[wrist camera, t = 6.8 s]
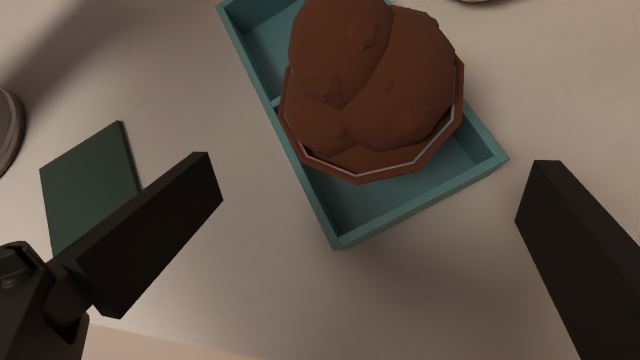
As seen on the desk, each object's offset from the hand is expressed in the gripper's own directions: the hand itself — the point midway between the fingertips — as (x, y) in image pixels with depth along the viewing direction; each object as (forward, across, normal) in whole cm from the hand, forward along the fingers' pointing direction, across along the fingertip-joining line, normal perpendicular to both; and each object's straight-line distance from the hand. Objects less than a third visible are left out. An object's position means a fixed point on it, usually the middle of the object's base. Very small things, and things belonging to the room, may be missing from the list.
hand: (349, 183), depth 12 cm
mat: (+10, -32, -9) cm, 35 cm away
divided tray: (+18, -4, -2) cm, 19 cm away
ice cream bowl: (+14, 0, -5) cm, 15 cm away
